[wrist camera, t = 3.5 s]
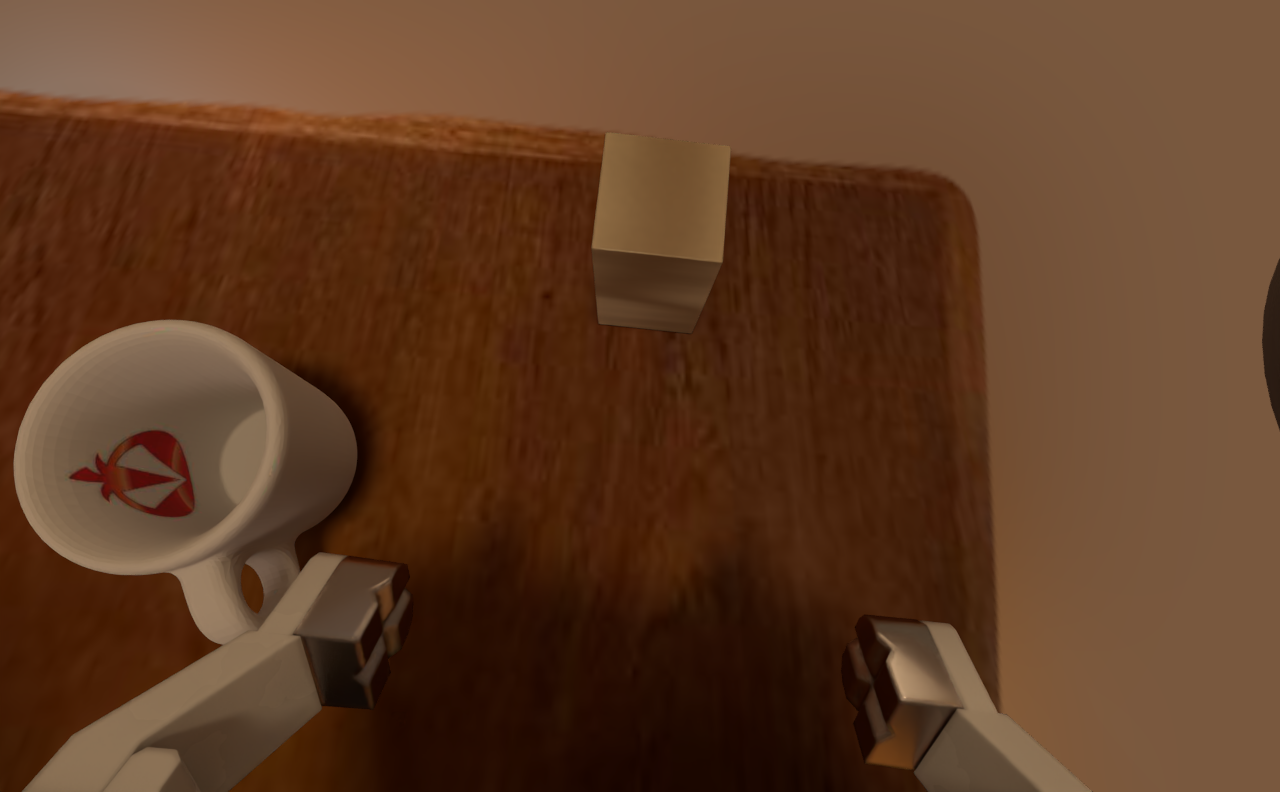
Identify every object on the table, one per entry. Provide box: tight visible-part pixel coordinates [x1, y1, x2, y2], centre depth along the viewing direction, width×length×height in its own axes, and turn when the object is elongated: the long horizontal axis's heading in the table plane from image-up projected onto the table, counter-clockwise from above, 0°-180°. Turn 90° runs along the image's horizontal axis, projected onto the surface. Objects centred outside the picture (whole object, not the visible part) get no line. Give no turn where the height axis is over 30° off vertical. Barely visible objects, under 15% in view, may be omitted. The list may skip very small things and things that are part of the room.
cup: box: [14, 320, 357, 645], centre depth 21 cm, size 11×8×8 cm
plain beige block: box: [591, 132, 731, 334], centre depth 24 cm, size 4×4×8 cm
